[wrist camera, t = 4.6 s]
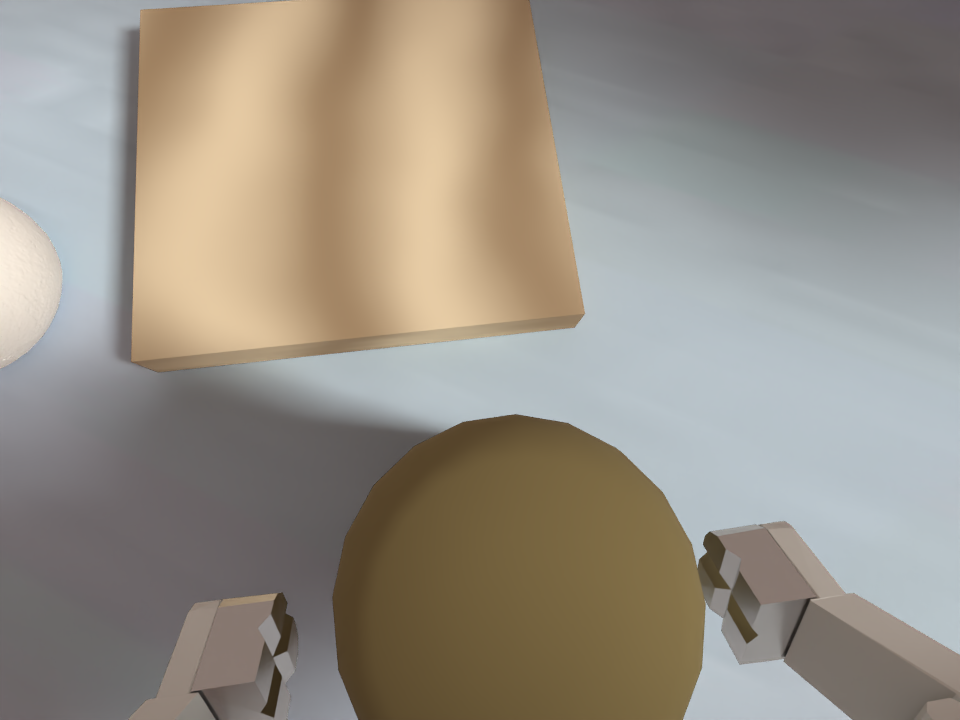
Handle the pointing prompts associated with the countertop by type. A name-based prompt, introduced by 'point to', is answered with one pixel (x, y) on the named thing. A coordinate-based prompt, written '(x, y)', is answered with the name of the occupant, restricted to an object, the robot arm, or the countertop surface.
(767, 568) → the robot arm
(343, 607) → the cork
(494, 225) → the birch board
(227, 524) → the countertop surface
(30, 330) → the garlic bulb
